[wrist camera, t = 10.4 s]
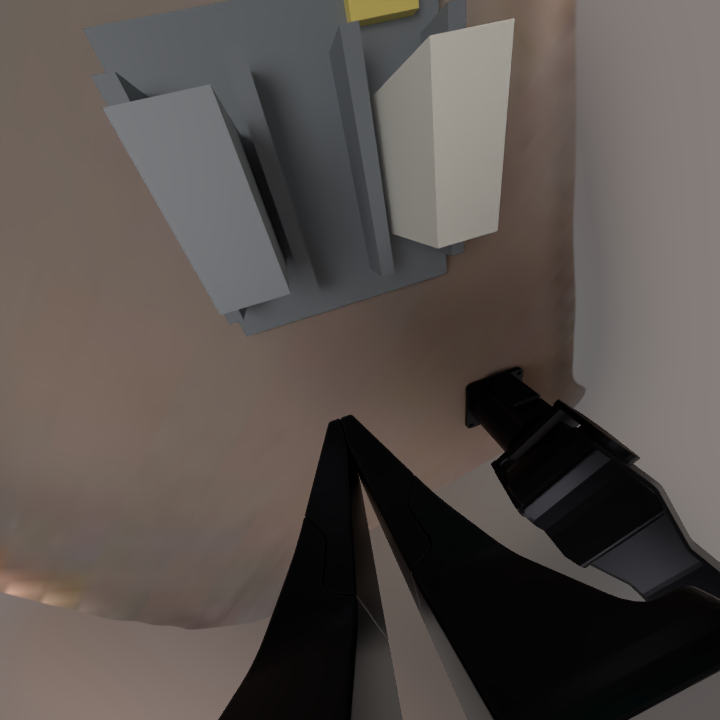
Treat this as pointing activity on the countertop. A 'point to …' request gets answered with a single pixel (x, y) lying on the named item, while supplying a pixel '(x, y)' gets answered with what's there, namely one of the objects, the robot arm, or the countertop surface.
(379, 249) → the rack
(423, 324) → the countertop surface
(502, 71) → the block
